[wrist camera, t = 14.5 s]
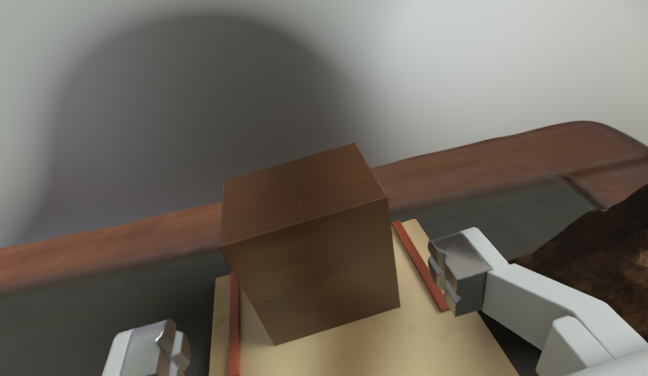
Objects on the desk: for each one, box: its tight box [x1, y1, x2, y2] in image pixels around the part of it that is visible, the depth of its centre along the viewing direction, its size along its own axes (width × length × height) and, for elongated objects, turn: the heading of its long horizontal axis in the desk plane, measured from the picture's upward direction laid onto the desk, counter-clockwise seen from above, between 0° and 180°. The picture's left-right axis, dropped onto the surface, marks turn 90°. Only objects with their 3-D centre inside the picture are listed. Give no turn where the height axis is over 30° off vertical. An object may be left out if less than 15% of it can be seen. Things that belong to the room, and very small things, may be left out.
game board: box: [209, 219, 519, 376], centre depth 25 cm, size 20×20×1 cm
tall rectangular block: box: [219, 143, 401, 346], centre depth 26 cm, size 10×7×11 cm
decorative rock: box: [508, 184, 648, 343], centre depth 20 cm, size 12×6×11 cm, turn 69°
